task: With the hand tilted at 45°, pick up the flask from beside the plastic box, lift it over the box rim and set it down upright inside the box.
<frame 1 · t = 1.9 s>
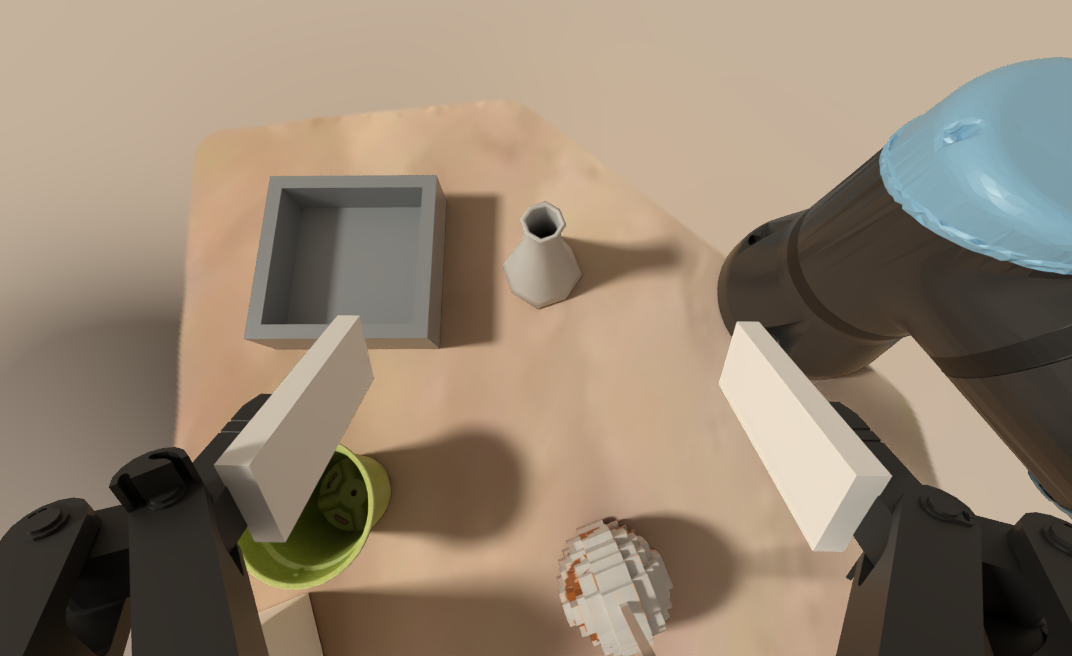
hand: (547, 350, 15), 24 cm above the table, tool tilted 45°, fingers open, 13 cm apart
open box: (365, 272, 41), on the table
decorative ornament: (605, 569, 35), on the table
flask: (542, 272, 42), on the table
milk carton: (278, 655, 34), on the table
plant pot: (356, 493, 37), on the table
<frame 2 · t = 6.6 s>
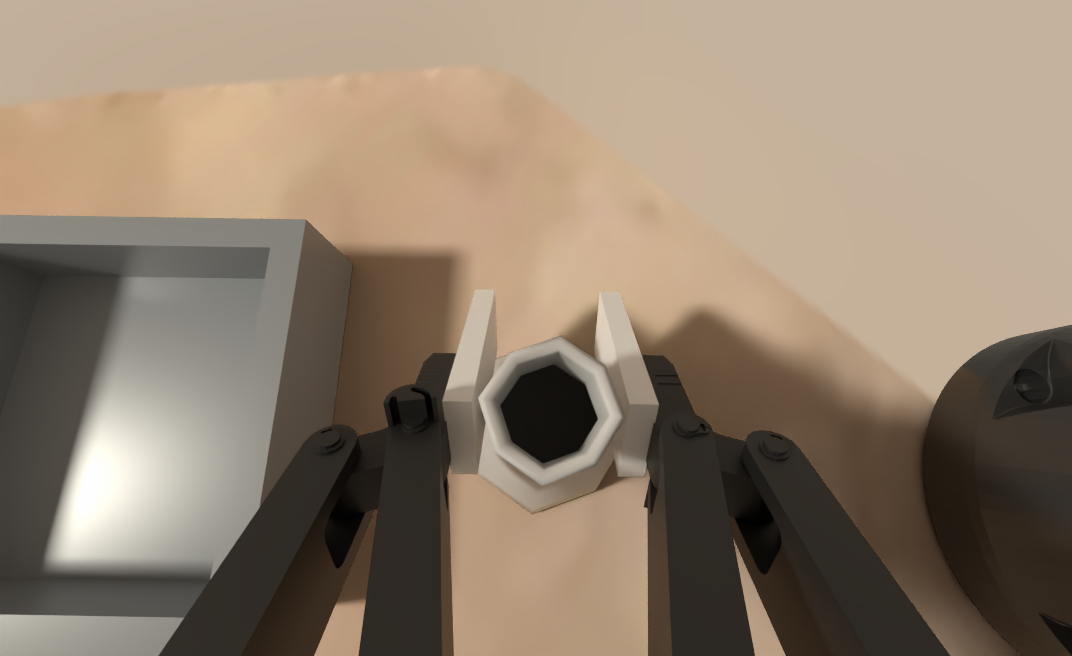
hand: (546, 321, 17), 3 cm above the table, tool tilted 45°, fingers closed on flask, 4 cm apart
open box: (166, 416, 19), on the table
flask: (543, 422, 20), on the table, touching gripper
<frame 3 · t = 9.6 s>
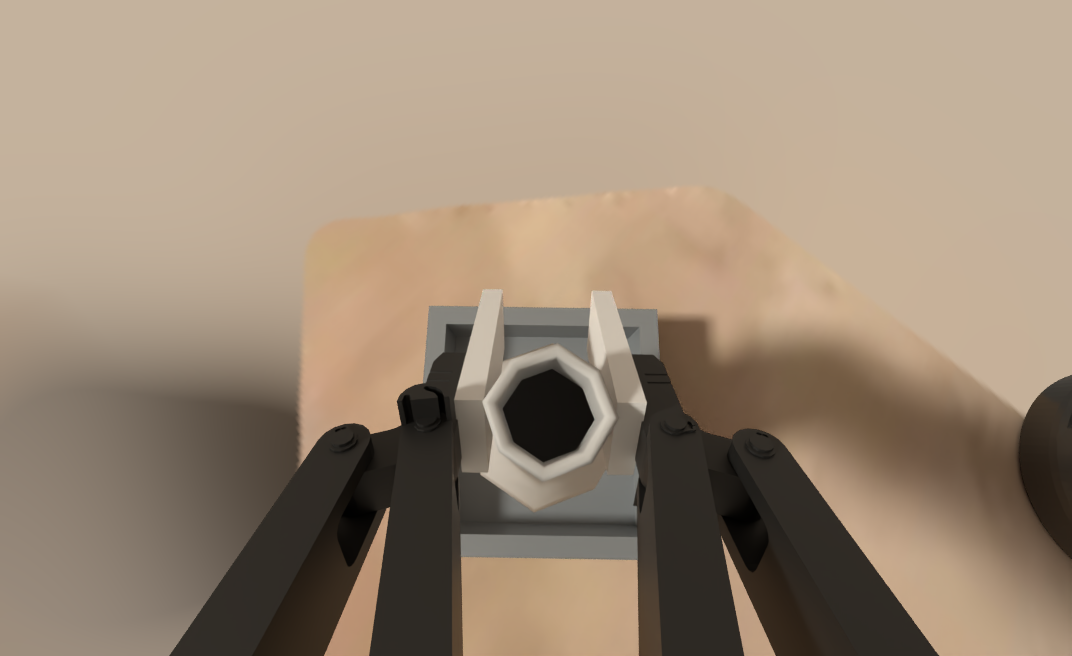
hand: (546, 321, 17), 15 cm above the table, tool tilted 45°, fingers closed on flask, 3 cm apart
open box: (540, 425, 31), on the table
flask: (543, 424, 20), point 11 cm above the table, touching gripper
when the fingers open (6 cm above the table, at t = 11.8 s): flask stays where it is, resting on open box.
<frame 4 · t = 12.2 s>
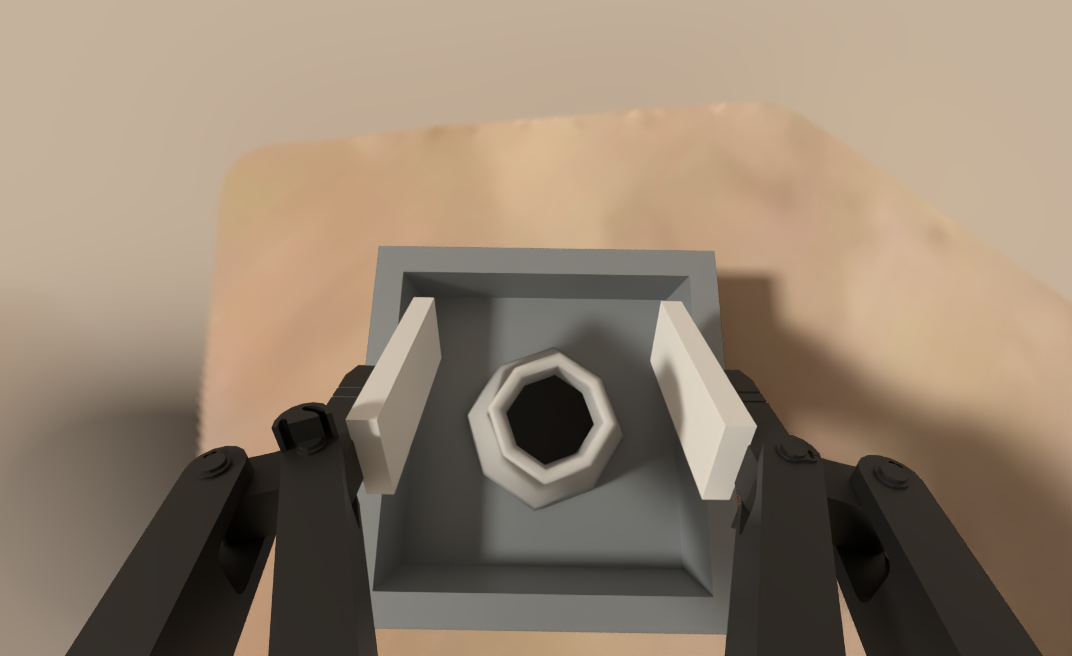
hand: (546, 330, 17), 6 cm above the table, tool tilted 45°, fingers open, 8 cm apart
open box: (542, 423, 22), on the table
flask: (544, 425, 21), point 1 cm above the table, touching open box
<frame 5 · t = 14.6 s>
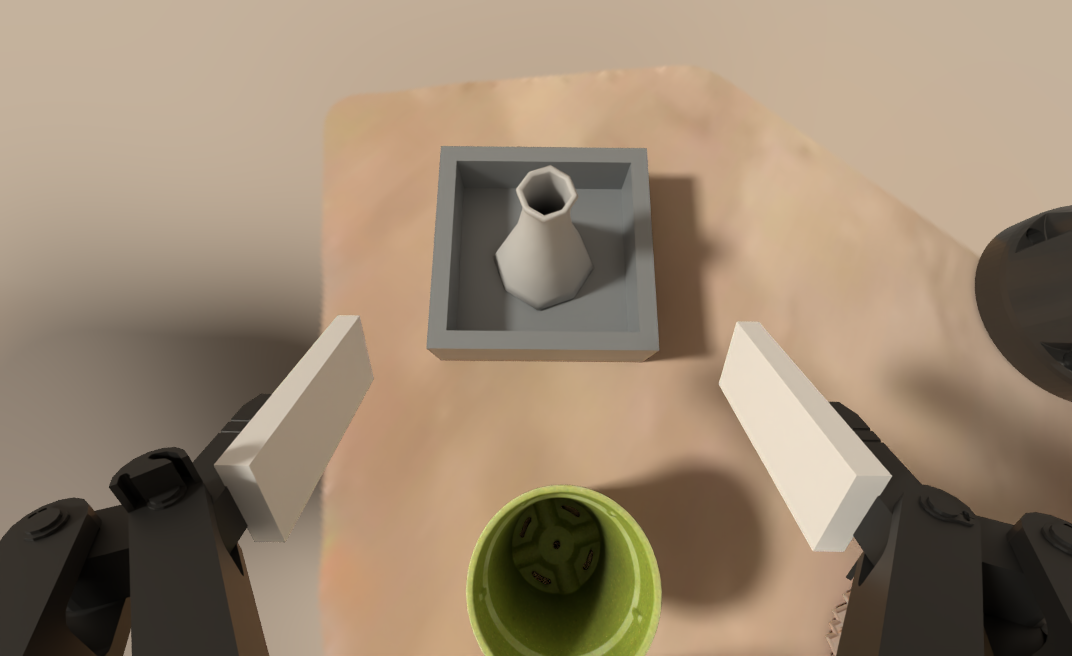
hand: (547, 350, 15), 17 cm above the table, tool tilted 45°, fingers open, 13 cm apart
open box: (542, 267, 34), on the table
decorative ornament: (879, 647, 28), on the table
flask: (543, 264, 33), point 1 cm above the table, touching open box
plant pot: (555, 543, 29), on the table
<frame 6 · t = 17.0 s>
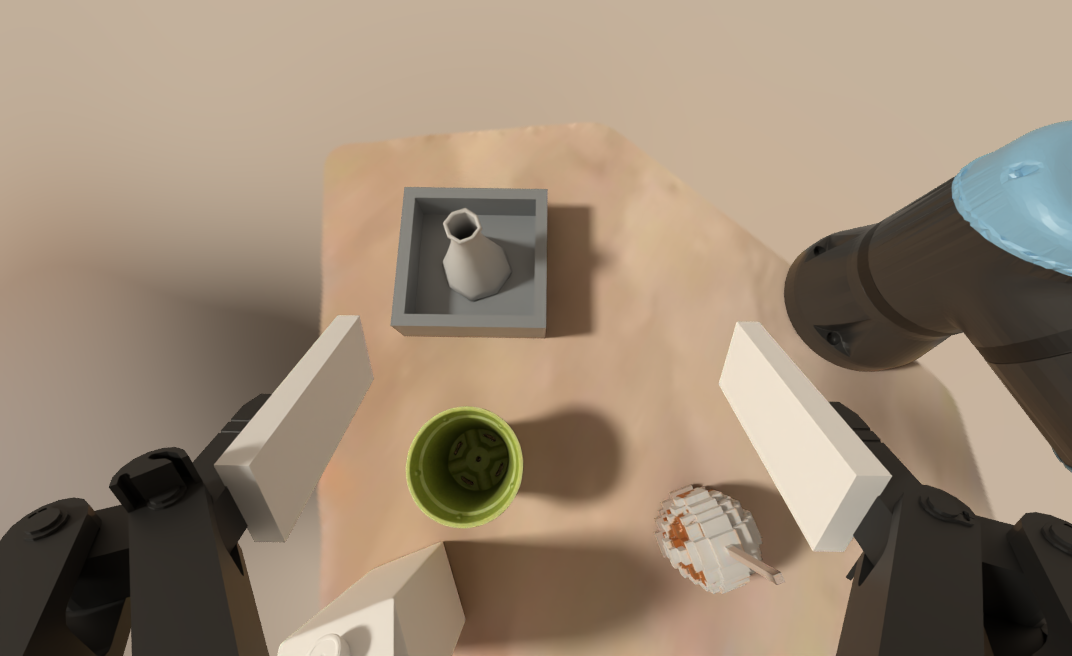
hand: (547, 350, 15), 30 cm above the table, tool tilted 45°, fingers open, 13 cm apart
open box: (478, 271, 48), on the table
decorative ornament: (693, 528, 42), on the table
flask: (477, 269, 47), point 1 cm above the table, touching open box
milk carton: (418, 593, 40), on the table
plant pot: (478, 459, 43), on the table
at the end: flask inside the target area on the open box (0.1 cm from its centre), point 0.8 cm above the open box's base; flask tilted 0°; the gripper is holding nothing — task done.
